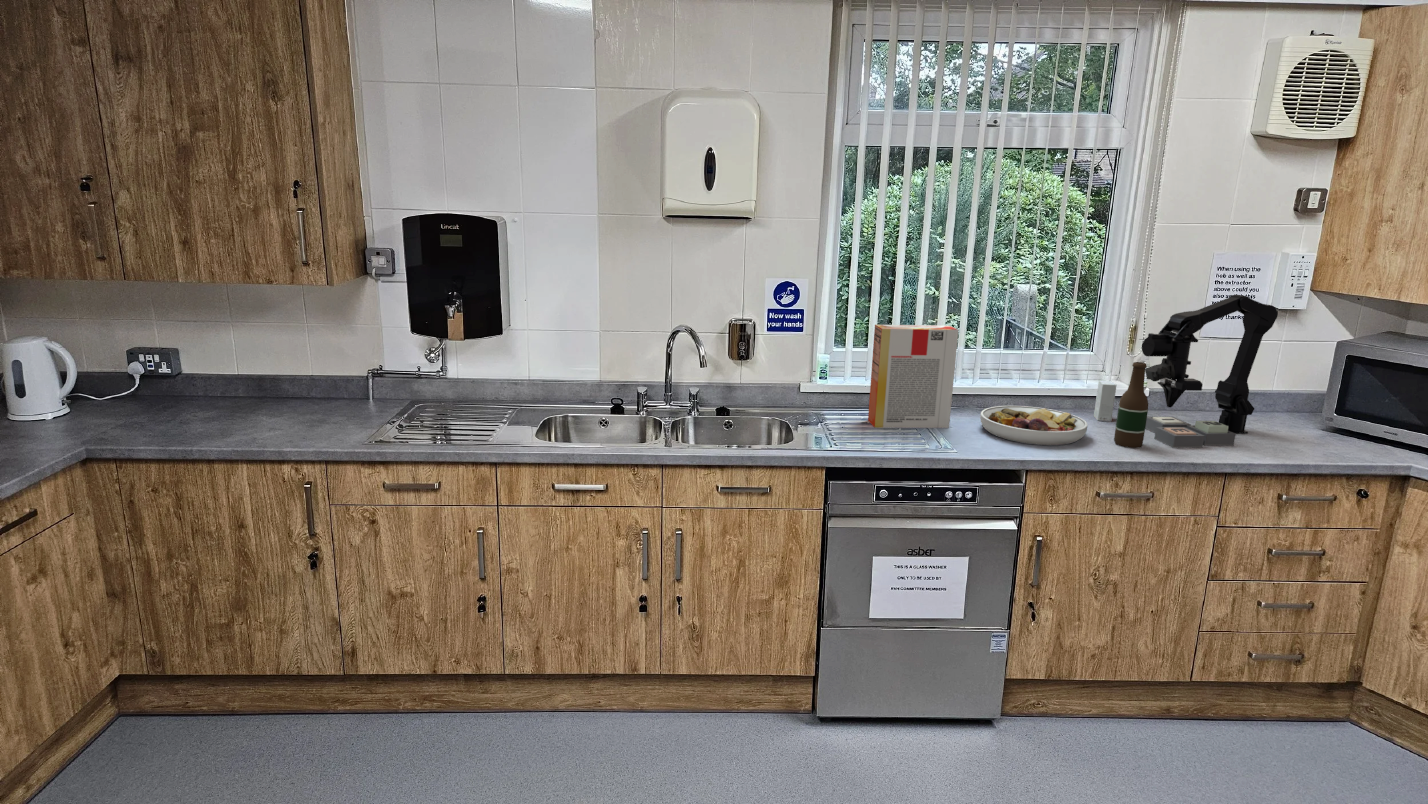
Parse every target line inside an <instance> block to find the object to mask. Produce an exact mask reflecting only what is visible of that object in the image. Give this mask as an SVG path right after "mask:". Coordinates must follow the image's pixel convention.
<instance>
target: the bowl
mask: <svg viewBox="0 0 1428 804" xmlns="http://www.w3.org/2000/svg"><path fill="white" fill-rule="evenodd" d="M979 416H980V417H979V418H980V423H981V425H982V426H983V429H985V430H986V431H987V432H989V433H990V434H992V435H993V436H995V437H998V438H1001V439H1004V440H1008V441H1011V442H1015V443H1022V444H1029V445H1037V446H1038V445H1039V446H1061V445H1062V446H1063V445H1068V444H1071V443H1075V442H1077V441H1079V440H1081V439H1082V438H1083V437H1084V436H1085V435H1086V434H1087V430H1088V422H1087V421H1086V420H1085V419H1084V418H1082V417H1079V416H1077V415H1074V414H1072V413H1069V412H1065V411H1060V410H1056V409H1050V408H1044V407H1038V406H1030V405H1029V406H1027V405H1026V406H1025V405H998V406H991V407H987V408H985V409H983V410H981V411H980V415H979Z"/></svg>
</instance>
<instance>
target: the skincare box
mask: <svg viewBox="0 0 1428 804" xmlns="http://www.w3.org/2000/svg"><path fill="white" fill-rule="evenodd" d="M1116 390H1117V384H1116V383H1114V381H1110V380H1098V383H1097V390H1096V399H1095V405H1094V413H1093V417H1094V418H1095V419H1096V420H1097V421H1099V422H1112V419H1113V412H1114V407H1115V406H1114V405H1115V398H1116Z"/></svg>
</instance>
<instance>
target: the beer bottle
mask: <svg viewBox="0 0 1428 804" xmlns="http://www.w3.org/2000/svg"><path fill="white" fill-rule="evenodd" d="M1131 366H1132V371H1131V376H1130V381H1129V383H1128V388H1127V389H1126V391H1124V393H1123V394H1122V395H1121V397H1120V399H1119V403H1118V409H1117V415H1116V423H1115V429H1114V436H1113V437H1114V438H1113V441H1114V443H1115V445H1117V446H1119V447H1122V448H1130V449H1138V448H1142V447H1143V443H1144V438H1145V432H1146V429H1145V427H1146V420H1147V417H1148V413H1149V401H1148V400H1149V399H1148V397H1147V395H1146V393H1145V377H1146V372H1145V369H1146V368H1148V366H1147V363H1146V362H1141V361H1135V362H1133V363H1132V365H1131Z"/></svg>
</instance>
